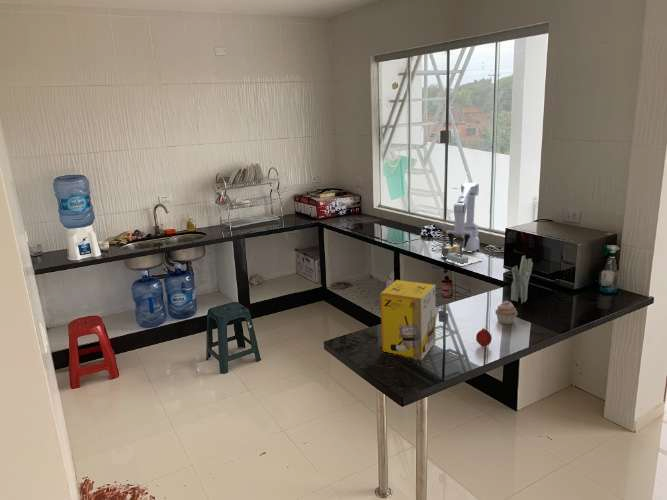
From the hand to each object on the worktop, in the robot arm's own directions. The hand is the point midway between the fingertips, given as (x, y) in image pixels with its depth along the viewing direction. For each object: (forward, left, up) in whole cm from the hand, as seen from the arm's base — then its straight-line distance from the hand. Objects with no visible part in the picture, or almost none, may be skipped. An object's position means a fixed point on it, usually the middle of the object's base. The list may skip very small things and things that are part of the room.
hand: (458, 246), depth 293 cm
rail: (-8, -15, -11) cm, 20 cm away
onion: (+63, +84, -11) cm, 106 cm away
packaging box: (+87, +68, -11) cm, 111 cm away
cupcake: (+39, +73, -11) cm, 84 cm away
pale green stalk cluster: (+15, +59, -11) cm, 62 cm away
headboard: (-6, -2, -11) cm, 12 cm away
